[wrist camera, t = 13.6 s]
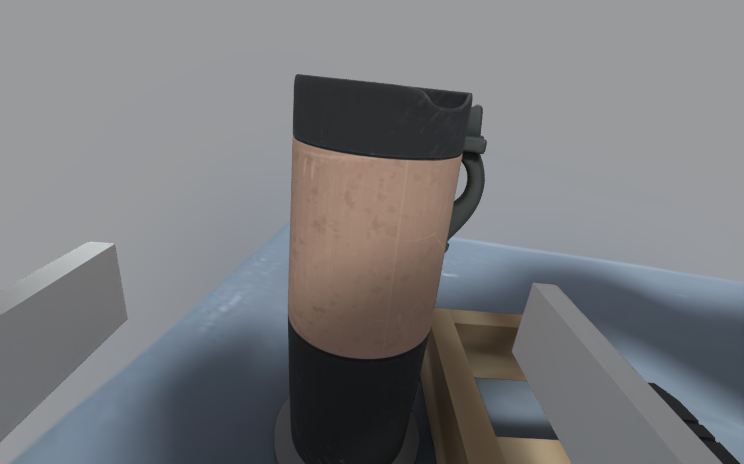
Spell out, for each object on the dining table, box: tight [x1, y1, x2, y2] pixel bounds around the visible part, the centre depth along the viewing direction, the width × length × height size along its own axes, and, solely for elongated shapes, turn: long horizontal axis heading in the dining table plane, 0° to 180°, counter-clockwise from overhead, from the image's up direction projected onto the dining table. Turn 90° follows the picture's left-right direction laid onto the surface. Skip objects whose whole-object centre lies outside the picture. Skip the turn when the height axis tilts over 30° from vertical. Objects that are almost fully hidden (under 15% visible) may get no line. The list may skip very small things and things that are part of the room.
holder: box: [420, 308, 572, 464], centre depth 24 cm, size 13×13×5 cm
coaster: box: [274, 396, 419, 464], centre depth 23 cm, size 9×9×1 cm
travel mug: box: [288, 74, 472, 464], centre depth 19 cm, size 8×8×20 cm
